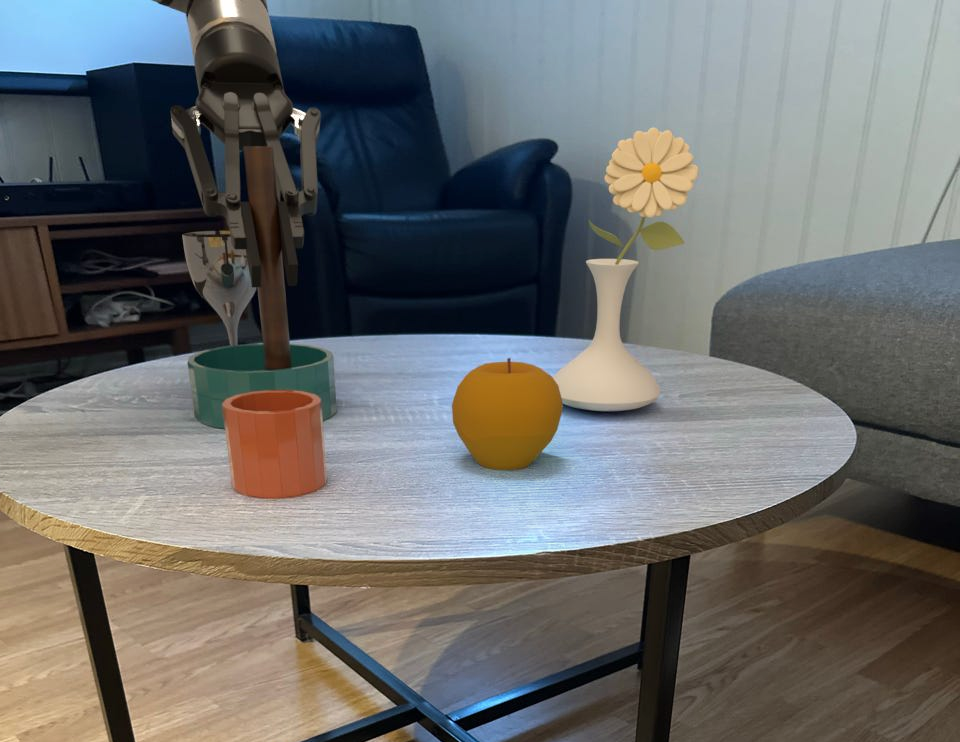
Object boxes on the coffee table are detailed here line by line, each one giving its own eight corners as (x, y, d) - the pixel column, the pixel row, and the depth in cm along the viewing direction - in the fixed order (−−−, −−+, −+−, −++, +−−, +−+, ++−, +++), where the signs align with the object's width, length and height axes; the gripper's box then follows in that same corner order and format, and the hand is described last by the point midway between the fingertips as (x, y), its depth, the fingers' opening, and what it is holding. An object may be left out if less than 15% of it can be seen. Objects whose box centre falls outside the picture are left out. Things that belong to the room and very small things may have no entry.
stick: (260, 398, 88) (234, 146, 78) (281, 394, 90) (258, 146, 80) (281, 404, 86) (257, 146, 76) (302, 399, 88) (281, 146, 78)
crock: (215, 493, 71) (203, 401, 68) (289, 472, 76) (281, 385, 73) (271, 515, 67) (261, 418, 64) (346, 492, 72) (340, 400, 68)
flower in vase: (529, 412, 93) (538, 126, 81) (569, 388, 102) (582, 128, 90) (657, 428, 88) (687, 126, 76) (687, 401, 97) (717, 128, 86)
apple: (577, 483, 74) (584, 367, 70) (467, 492, 72) (467, 373, 68) (541, 451, 82) (545, 345, 77) (441, 458, 79) (439, 350, 75)
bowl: (169, 421, 90) (159, 356, 87) (281, 397, 98) (276, 338, 95) (251, 448, 82) (243, 378, 79) (365, 419, 90) (361, 356, 88)
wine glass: (252, 366, 112) (237, 229, 104) (285, 378, 106) (272, 234, 99) (189, 375, 107) (169, 233, 100) (220, 388, 102) (201, 238, 95)
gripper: (318, 96, 91) (360, 301, 85) (152, 93, 87) (183, 308, 81) (322, 25, 84) (369, 243, 78) (142, 18, 80) (176, 247, 74)
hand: (274, 275), depth 79 cm, fingers closed on stick, 2 cm apart
